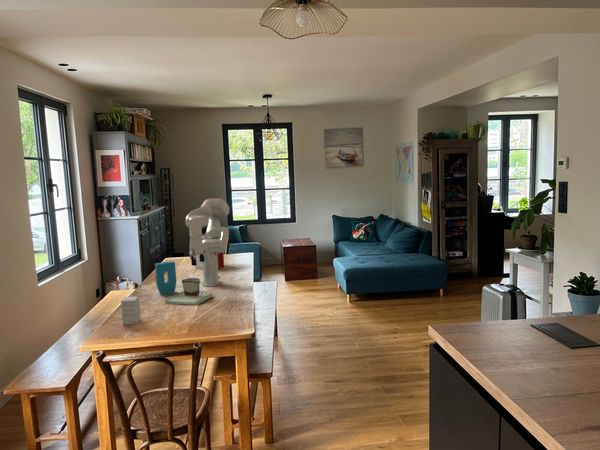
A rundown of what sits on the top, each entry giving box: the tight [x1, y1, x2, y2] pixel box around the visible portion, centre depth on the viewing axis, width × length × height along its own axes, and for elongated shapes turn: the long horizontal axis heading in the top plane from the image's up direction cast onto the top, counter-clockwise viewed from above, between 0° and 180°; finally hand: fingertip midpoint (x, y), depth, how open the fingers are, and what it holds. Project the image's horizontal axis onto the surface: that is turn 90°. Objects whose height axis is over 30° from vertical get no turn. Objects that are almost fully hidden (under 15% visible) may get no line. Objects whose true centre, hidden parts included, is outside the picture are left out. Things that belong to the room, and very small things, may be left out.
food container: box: [181, 277, 202, 297], centre depth 273 cm, size 12×6×10 cm, turn 73°
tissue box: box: [195, 234, 225, 271], centre depth 360 cm, size 16×18×27 cm
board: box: [164, 291, 213, 306], centre depth 268 cm, size 19×21×2 cm
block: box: [154, 261, 177, 296], centre depth 284 cm, size 12×5×20 cm, turn 123°
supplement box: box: [120, 295, 141, 325], centre depth 229 cm, size 7×7×13 cm
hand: (198, 263), depth 278 cm, fingers open, 9 cm apart
